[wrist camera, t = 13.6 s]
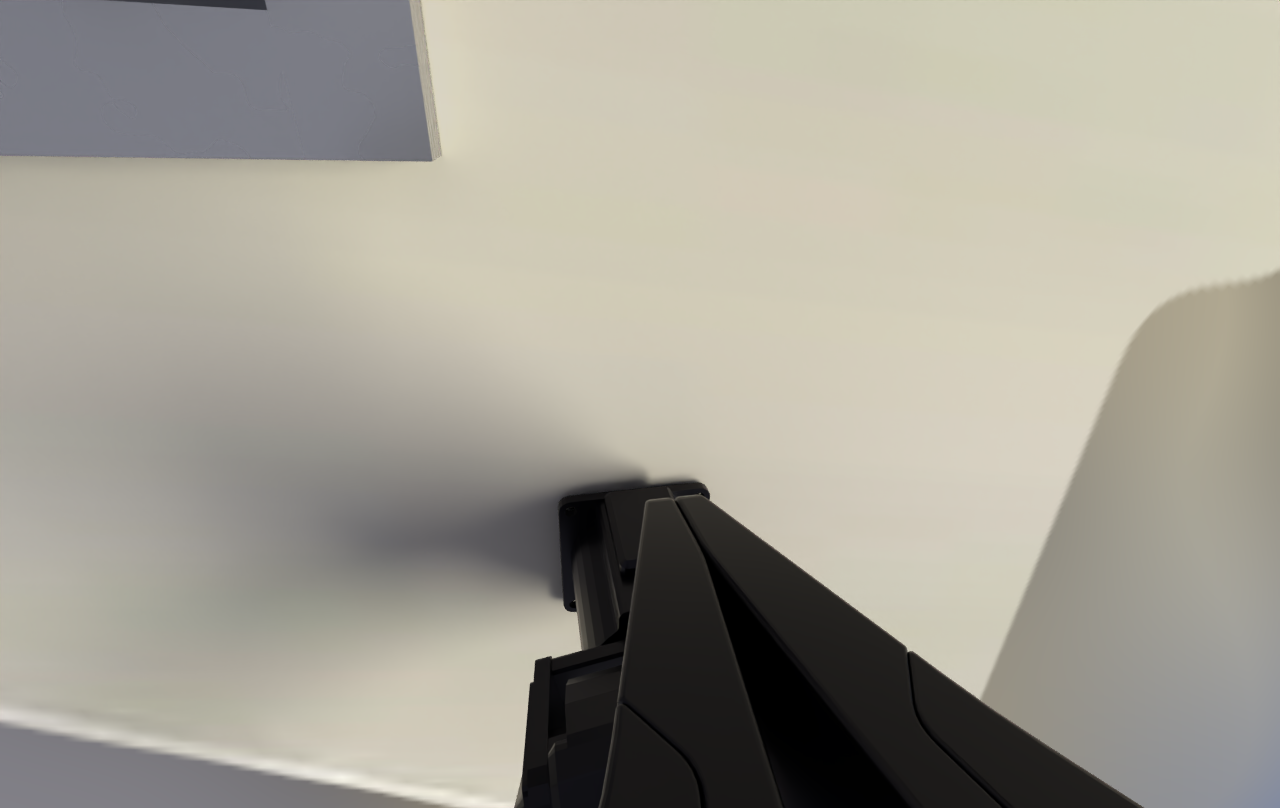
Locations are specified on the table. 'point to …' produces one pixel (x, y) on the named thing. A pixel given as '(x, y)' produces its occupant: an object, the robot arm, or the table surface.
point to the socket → (216, 79)
